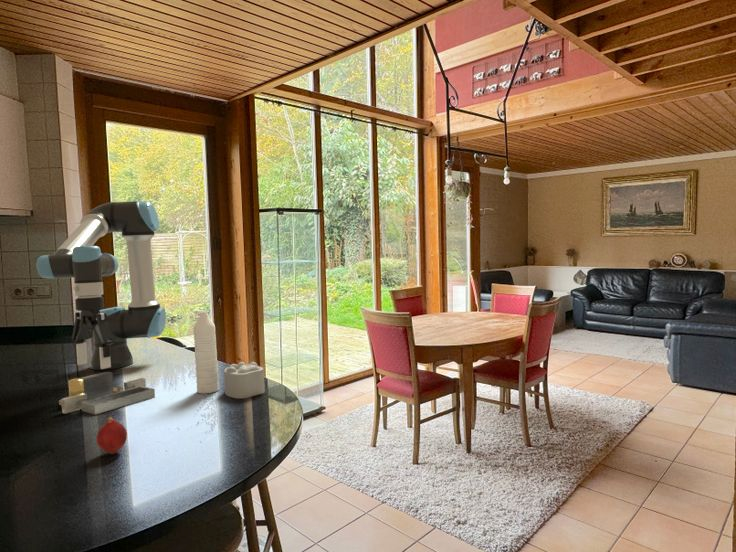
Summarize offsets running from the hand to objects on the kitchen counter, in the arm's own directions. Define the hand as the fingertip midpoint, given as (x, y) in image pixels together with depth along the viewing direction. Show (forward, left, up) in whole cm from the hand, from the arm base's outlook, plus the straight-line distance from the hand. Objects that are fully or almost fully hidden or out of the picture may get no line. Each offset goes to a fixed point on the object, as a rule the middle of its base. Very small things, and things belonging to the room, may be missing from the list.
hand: (93, 366), depth 148 cm
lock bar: (+1, 0, -10) cm, 10 cm away
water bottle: (-21, +25, -10) cm, 35 cm away
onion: (+21, +47, -10) cm, 53 cm away
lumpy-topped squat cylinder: (-25, +37, -10) cm, 46 cm away
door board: (0, +6, -10) cm, 12 cm away
